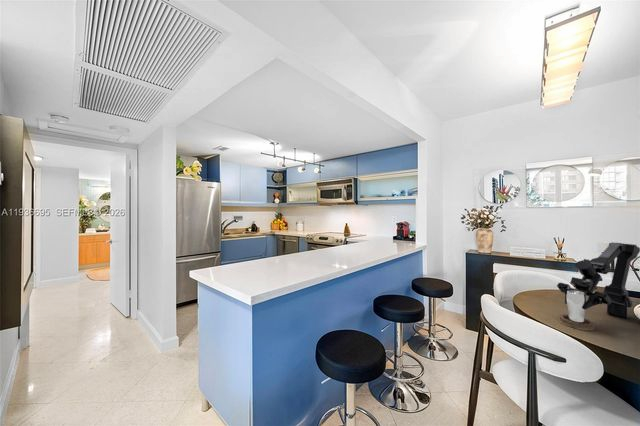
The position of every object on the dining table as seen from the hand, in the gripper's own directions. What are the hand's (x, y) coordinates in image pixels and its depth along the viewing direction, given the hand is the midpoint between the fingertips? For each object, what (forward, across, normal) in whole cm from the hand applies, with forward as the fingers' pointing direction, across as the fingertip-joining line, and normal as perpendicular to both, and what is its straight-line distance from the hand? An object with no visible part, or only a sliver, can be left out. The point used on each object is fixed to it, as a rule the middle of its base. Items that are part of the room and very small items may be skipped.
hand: (574, 306), depth 122 cm
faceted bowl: (+6, 0, +7) cm, 9 cm away
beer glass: (+5, 0, +7) cm, 8 cm away
